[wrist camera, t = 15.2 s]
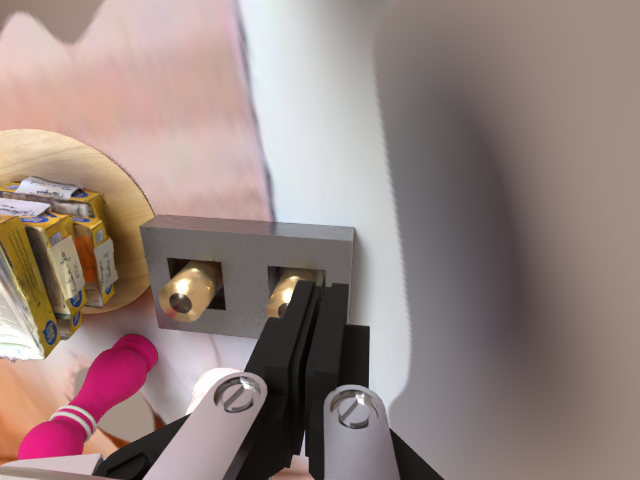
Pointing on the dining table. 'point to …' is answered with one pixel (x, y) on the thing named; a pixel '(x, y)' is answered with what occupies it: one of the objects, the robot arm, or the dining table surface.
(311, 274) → the bushing
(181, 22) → the dining table surface
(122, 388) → the pepper mill
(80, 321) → the stacked packages on plate
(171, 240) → the jig
